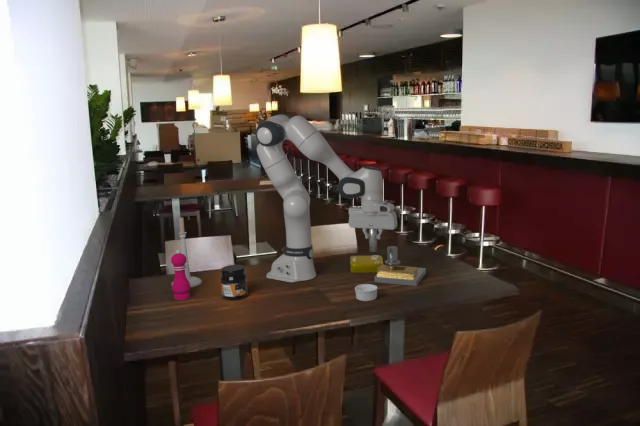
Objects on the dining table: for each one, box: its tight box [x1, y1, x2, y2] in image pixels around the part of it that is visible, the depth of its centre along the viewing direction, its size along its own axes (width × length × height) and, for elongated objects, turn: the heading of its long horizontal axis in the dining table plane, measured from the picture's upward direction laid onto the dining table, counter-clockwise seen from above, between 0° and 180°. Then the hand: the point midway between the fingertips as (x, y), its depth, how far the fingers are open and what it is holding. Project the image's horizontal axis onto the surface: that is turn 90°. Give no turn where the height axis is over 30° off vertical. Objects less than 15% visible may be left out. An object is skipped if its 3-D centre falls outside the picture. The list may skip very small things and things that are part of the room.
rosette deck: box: [373, 245, 427, 287], centre depth 226 cm, size 18×18×12 cm
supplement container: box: [219, 264, 249, 301], centre depth 210 cm, size 10×10×12 cm
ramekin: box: [354, 283, 378, 302], centre depth 204 cm, size 9×9×4 cm
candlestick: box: [171, 216, 202, 288], centre depth 228 cm, size 13×13×30 cm
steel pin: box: [368, 224, 378, 253], centre depth 217 cm, size 4×4×12 cm
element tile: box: [349, 254, 384, 274], centre depth 244 cm, size 15×15×5 cm
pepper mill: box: [170, 249, 191, 301], centre depth 210 cm, size 7×7×20 cm
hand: (373, 238), depth 217 cm, fingers closed on steel pin, 3 cm apart
